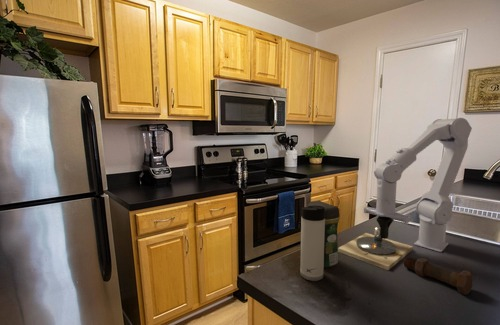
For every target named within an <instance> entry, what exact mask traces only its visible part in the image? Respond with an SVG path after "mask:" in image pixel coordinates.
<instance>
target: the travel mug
mask: <svg viewBox="0 0 500 325" xmlns="http://www.w3.org/2000/svg"><path fill="white" fill-rule="evenodd" d="M300 216H301V217H300V218H301V219H300V220H301V221H300V223H301V227H300V267H299V269H300V272H299V274H300V276H301V277H302V279H303V278H304V279H305V280H308V281H311V282H318V281H320V280H323V278H324V268H325V267H324V234H325V207H323V206H309V207H308V206H302V207H301V215H300Z"/></svg>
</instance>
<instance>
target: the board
mask: <svg viewBox="0 0 500 325" xmlns="http://www.w3.org/2000/svg"><path fill="white" fill-rule="evenodd" d="M361 237H374V234H371V233H368V232H365V233H362V235H359V236H358V237H355V238H354V239H352V240H350V241H348V242H347V243H345V244H342V245H341V246H339V247H338V253H341V254H344V255H345V256H349V257H351V258H354V259H357V260H359V261H362V262H365V263H367V264H370V265H372V266H376V267H379V268H380V269H384V270H386V271H389V270H391V269H392V268H393V267H394V266H395V265H397V264H398V263H399V262H400V261H401V260H402V259H404V258H406V256H407V255H408V254H409V253H410V252H412V251H413V248H414V246H413V245H409V244H407V243H406V244H405V243H403V242H402V243H401V242H399V241H395V240H392V239H388V238H386V239H385V240H388V241H390V242H392V243H393V244H394V245H395V246H396V252H395V253H393V254H389V255H379V254H373V253H369V252H366V251H364V250H362V249H360V248H359V247H358V246H357V245H356V240H357V239H358V238H361Z"/></svg>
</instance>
